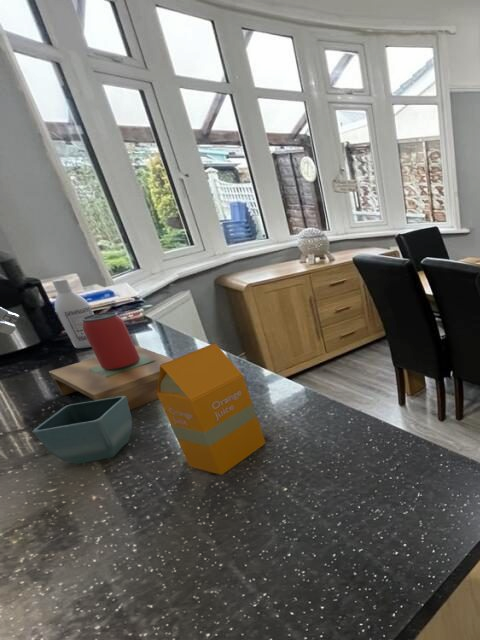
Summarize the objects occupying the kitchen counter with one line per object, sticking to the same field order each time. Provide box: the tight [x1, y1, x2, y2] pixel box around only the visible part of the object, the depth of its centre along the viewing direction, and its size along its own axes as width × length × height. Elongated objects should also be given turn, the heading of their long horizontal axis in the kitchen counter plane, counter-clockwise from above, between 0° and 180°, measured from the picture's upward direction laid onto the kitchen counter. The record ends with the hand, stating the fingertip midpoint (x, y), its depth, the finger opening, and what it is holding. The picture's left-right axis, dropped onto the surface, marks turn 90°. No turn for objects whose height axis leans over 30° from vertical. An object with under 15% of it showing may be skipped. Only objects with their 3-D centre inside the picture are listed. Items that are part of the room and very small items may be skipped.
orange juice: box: [157, 342, 267, 476], centre depth 66 cm, size 8×9×20 cm
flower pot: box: [31, 396, 133, 465], centre depth 69 cm, size 9×9×9 cm
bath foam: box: [51, 278, 95, 349], centre depth 115 cm, size 7×7×20 cm
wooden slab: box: [48, 345, 175, 411], centre depth 91 cm, size 16×24×6 cm, turn 62°
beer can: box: [82, 311, 140, 370], centre depth 88 cm, size 7×7×12 cm
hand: (16, 324), depth 80 cm, fingers open, 8 cm apart
